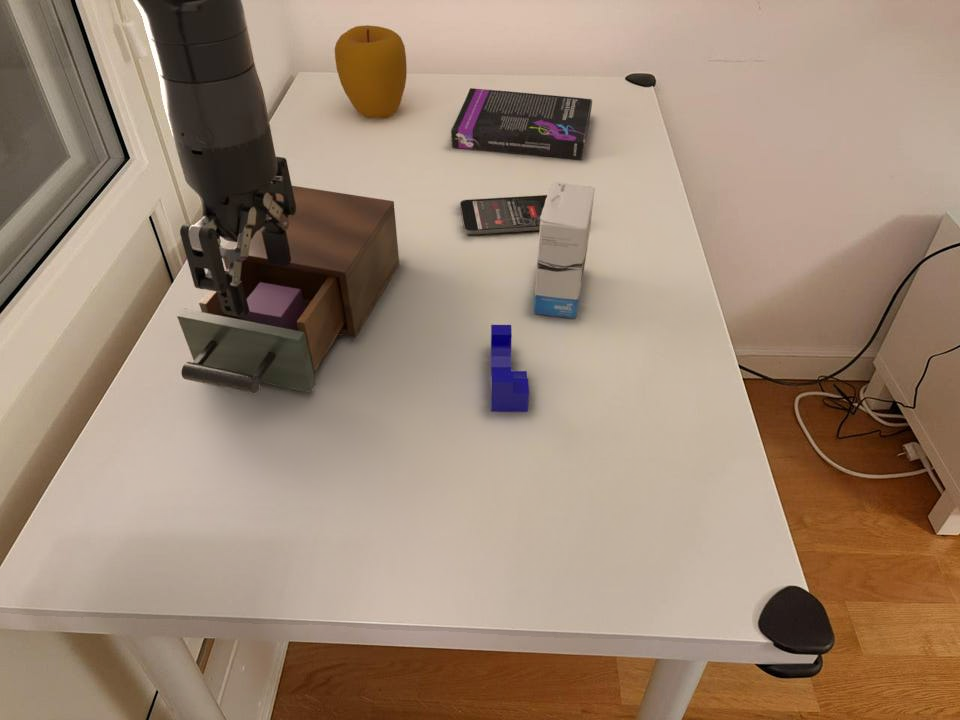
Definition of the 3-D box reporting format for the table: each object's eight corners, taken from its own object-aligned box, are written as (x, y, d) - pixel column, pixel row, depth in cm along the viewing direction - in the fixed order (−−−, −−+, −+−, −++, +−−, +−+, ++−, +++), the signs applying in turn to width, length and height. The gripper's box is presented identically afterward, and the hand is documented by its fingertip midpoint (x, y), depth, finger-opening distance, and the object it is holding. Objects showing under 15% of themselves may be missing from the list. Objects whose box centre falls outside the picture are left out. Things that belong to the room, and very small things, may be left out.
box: (451, 151, 107) (583, 161, 104) (449, 128, 105) (585, 139, 102) (470, 108, 117) (592, 117, 114) (469, 87, 114) (594, 95, 111)
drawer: (288, 429, 66) (274, 377, 62) (169, 402, 69) (146, 350, 64) (360, 312, 78) (353, 260, 74) (256, 292, 81) (243, 241, 76)
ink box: (576, 320, 79) (588, 228, 71) (531, 314, 79) (538, 222, 71) (584, 274, 85) (596, 184, 77) (542, 268, 85) (549, 179, 77)
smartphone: (584, 223, 91) (465, 231, 90) (583, 228, 91) (465, 236, 90) (572, 193, 96) (459, 200, 95) (571, 198, 97) (459, 204, 95)
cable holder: (527, 411, 69) (529, 382, 66) (491, 411, 69) (491, 382, 66) (524, 354, 75) (526, 324, 72) (490, 353, 75) (491, 324, 72)
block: (289, 351, 72) (280, 317, 69) (248, 343, 73) (238, 309, 70) (308, 323, 75) (301, 288, 72) (268, 315, 76) (259, 281, 73)
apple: (332, 105, 117) (319, 22, 108) (393, 92, 121) (387, 10, 112) (356, 133, 110) (346, 47, 101) (421, 118, 114) (416, 34, 105)
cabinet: (355, 338, 77) (345, 272, 71) (239, 315, 79) (220, 250, 73) (399, 264, 86) (394, 200, 80) (295, 246, 89) (281, 183, 83)
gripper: (224, 84, 64) (260, 242, 74) (124, 156, 53) (182, 327, 64) (302, 94, 62) (327, 253, 73) (215, 170, 52) (259, 342, 63)
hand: (259, 287), depth 69 cm, fingers open, 8 cm apart
